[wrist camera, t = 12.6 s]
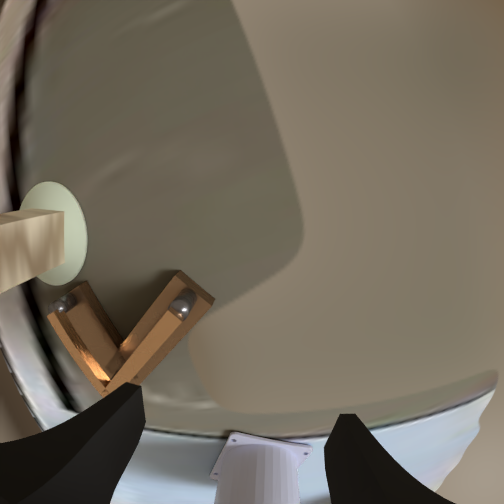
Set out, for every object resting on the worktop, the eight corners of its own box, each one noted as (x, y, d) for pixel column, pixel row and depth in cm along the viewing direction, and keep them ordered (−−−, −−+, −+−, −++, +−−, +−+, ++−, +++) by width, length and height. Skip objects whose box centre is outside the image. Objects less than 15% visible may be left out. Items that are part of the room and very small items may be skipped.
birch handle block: (64, 262, 19) (-8, 297, 11) (32, 255, 19) (-36, 283, 11) (64, 211, 18) (-16, 228, 10) (31, 208, 18) (-42, 223, 10)
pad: (82, 299, 20) (80, 300, 19) (17, 264, 19) (15, 265, 19) (96, 194, 18) (94, 194, 17) (26, 173, 18) (24, 173, 17)
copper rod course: (184, 403, 21) (172, 437, 17) (65, 350, 21) (41, 373, 17) (219, 283, 19) (207, 309, 15) (71, 229, 18) (35, 240, 14)
